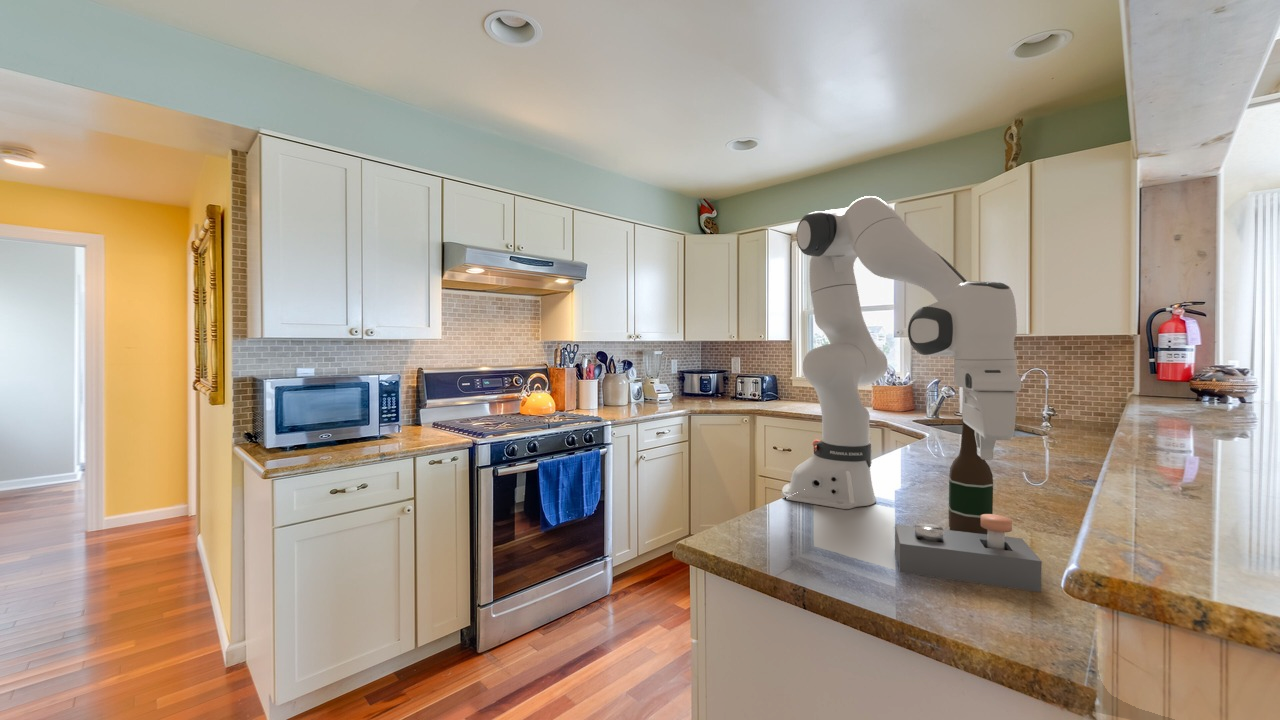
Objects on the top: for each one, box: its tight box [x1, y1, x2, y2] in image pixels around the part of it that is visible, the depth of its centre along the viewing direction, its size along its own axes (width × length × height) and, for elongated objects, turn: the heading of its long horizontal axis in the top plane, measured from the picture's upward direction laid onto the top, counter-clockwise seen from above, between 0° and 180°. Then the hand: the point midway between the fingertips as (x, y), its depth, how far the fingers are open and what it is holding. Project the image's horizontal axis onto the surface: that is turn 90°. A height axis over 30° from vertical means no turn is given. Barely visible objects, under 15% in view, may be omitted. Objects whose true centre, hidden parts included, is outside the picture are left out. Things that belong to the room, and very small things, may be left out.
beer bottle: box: [948, 417, 994, 534], centre depth 106 cm, size 8×8×24 cm
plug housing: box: [894, 523, 1043, 593], centre depth 90 cm, size 20×10×5 cm, turn 68°
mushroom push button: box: [981, 513, 1013, 550], centre depth 88 cm, size 4×4×6 cm
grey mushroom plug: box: [914, 522, 944, 542], centre depth 92 cm, size 4×4×6 cm
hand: (985, 458), depth 87 cm, fingers closed
